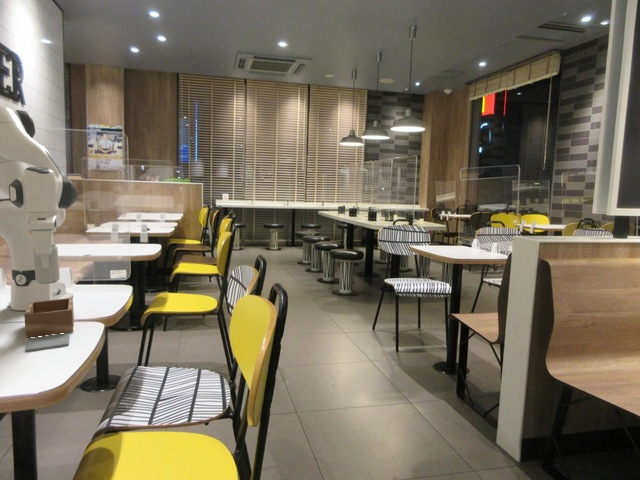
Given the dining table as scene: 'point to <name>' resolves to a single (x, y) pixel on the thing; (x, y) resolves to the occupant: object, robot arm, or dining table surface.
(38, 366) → the dining table surface
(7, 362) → the dining table surface
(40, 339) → the mat
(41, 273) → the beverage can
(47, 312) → the box
